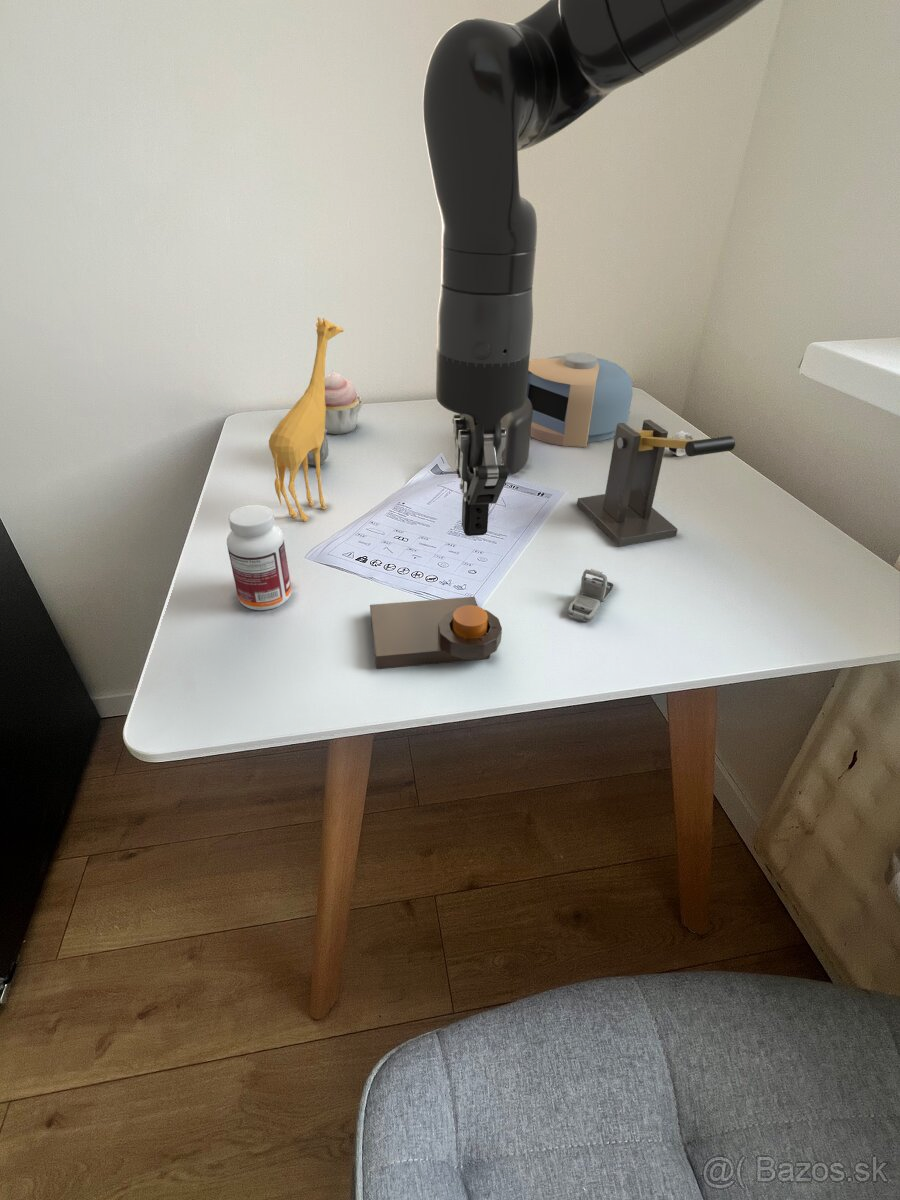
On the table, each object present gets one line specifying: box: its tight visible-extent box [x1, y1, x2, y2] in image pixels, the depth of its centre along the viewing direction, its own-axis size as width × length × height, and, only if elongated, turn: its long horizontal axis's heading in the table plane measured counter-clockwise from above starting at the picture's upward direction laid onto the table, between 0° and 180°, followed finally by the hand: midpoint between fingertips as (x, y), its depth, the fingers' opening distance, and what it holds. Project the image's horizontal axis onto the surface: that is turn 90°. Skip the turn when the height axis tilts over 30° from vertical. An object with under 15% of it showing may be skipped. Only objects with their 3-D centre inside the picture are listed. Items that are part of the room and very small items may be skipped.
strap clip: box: [567, 568, 614, 622], centre depth 81 cm, size 8×3×4 cm, turn 150°
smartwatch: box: [668, 430, 694, 457], centre depth 116 cm, size 4×2×4 cm, turn 116°
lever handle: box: [635, 429, 736, 457], centre depth 85 cm, size 16×6×2 cm, turn 20°
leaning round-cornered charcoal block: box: [500, 396, 533, 475], centre depth 112 cm, size 16×5×9 cm, turn 1°
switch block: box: [369, 596, 503, 670], centre depth 75 cm, size 13×11×4 cm
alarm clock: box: [526, 351, 633, 448], centre depth 123 cm, size 19×20×12 cm
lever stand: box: [576, 419, 679, 547], centre depth 94 cm, size 12×9×14 cm
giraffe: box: [268, 316, 345, 522], centre depth 93 cm, size 16×4×25 cm, turn 152°
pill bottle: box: [226, 504, 292, 611], centre depth 79 cm, size 6×6×11 cm
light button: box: [453, 605, 488, 639], centre depth 72 cm, size 4×4×2 cm
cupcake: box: [325, 370, 365, 435], centre depth 120 cm, size 9×9×10 cm
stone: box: [307, 428, 329, 467], centre depth 109 cm, size 9×7×10 cm
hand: (474, 531), depth 66 cm, fingers closed
